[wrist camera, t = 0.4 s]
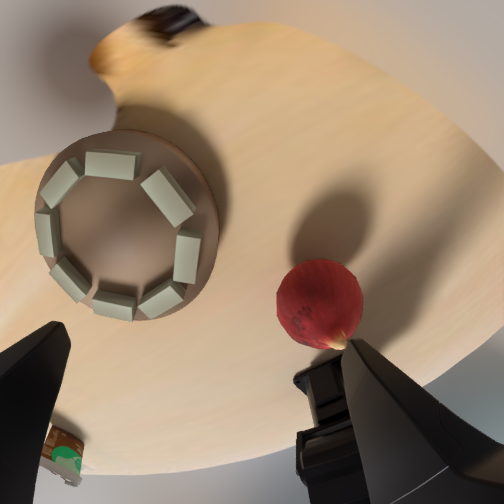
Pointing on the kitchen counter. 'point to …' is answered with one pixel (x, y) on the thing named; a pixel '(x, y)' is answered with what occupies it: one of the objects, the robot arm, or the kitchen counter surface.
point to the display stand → (127, 225)
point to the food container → (63, 455)
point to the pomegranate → (320, 304)
